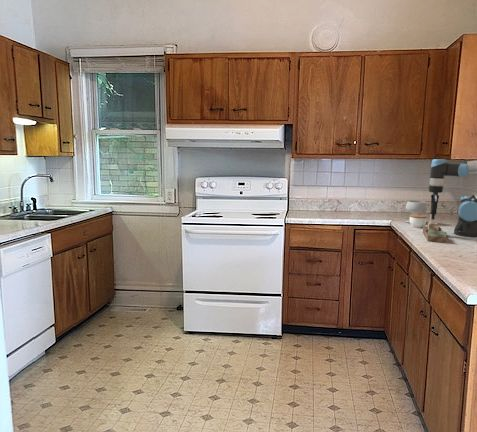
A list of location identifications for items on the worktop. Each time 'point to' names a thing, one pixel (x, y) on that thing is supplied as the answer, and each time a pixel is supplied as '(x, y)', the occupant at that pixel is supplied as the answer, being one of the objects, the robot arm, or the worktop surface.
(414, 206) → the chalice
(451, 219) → the worktop surface
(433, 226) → the birch block
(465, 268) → the worktop surface
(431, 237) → the two-trap track
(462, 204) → the robot arm
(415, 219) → the lidded jar
